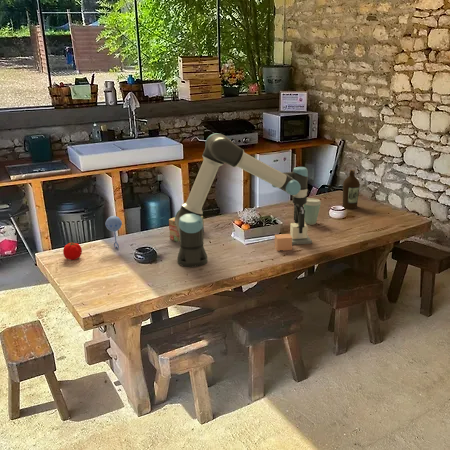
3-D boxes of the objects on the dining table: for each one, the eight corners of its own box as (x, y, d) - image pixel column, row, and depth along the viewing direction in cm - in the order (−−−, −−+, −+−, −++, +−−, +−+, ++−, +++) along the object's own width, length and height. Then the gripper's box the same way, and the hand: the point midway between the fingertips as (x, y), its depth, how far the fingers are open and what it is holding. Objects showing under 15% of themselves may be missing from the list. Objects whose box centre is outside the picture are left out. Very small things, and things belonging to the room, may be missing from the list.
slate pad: (290, 244, 268) (290, 242, 268) (285, 236, 279) (285, 234, 279) (311, 243, 270) (312, 240, 269) (305, 235, 281) (305, 233, 280)
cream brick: (292, 239, 271) (293, 227, 268) (290, 235, 276) (290, 223, 274) (307, 238, 271) (307, 226, 269) (304, 234, 277) (304, 222, 275)
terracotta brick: (277, 251, 261) (277, 238, 258) (274, 246, 266) (274, 234, 264) (291, 250, 262) (292, 237, 259) (289, 245, 267) (289, 233, 265)
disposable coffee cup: (302, 219, 306) (303, 196, 301) (320, 220, 304) (321, 197, 299) (301, 225, 297) (302, 201, 292) (319, 226, 295) (321, 202, 289)
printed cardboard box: (196, 229, 294) (195, 209, 290) (204, 231, 290) (203, 211, 286) (169, 239, 279) (168, 218, 275) (177, 242, 276) (176, 221, 271)
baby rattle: (104, 247, 269) (101, 216, 263) (117, 243, 275) (114, 212, 269) (114, 252, 263) (110, 220, 257) (127, 247, 269) (124, 215, 263)
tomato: (66, 263, 250) (64, 248, 247) (61, 257, 258) (59, 242, 255) (85, 259, 255) (83, 244, 252) (79, 253, 263) (77, 238, 260)
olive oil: (338, 205, 333) (341, 168, 324) (353, 204, 335) (356, 167, 326) (345, 210, 323) (348, 172, 314) (360, 208, 325) (363, 171, 316)
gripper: (311, 200, 257) (309, 241, 265) (301, 190, 275) (300, 229, 283) (297, 201, 257) (296, 242, 264) (288, 191, 274) (287, 230, 282)
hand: (298, 235), depth 274 cm, fingers closed on cream brick, 6 cm apart
